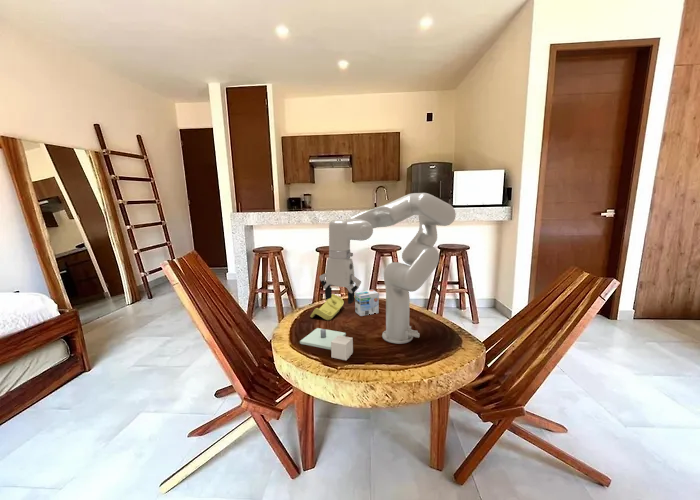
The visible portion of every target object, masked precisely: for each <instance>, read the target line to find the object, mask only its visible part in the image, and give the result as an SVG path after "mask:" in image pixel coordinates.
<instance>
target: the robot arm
mask: <svg viewBox="0 0 700 500" xmlns="http://www.w3.org/2000/svg"><path fill="white" fill-rule="evenodd" d="M413 216H418V223H419V224H418V225H419V228H418V231H417V232H416V235H414V237H413V238H412V239H411V241H410V242H409V243H408V244H407V245H406V247H405V248H404V249H403V251H402V252H401V259H402V262H398V261H397V262H396V261H393V262H391V263H388V264H387V265H386V267H385V268H384V271H383V280H384V281H383V282H384V285H385V286H384V287H385V330H384V331H382V335H381V337H382V339H383V340H384V341H385V342H387V343H391V344H398V345H402V344H407V343H410V342H411V341H412V340H413V339H414V338H418V339H419V338H420V332H419V331H418V330H414V329H412V325H410V297H411V296H410V292H411V293H412V292H416V291H418V290H419V289H421V288H422V287H423V285H424V284H425V282H426V281H427V280H428V278H429V277H430V276H431V275H432V273H433V272H434V271H435V270H436V269H437V266H438V265H439V261H440V253H439V251H438V249H437V247H435V244H436V243H437V241H438V230H437V226H441V227H446V226H447V227H448V226H450V225H451V224H453V223H454V221H455V220H456V217H457V213H456V210H455V208H454V207H453V206H452V205H451V204H450V203H448V202H446V201H444V200H443V199H440V198H439V197H438V196H437V197H436V196H434V195H433V194H430V193H427V192H413V193H408V194H406V195H405V194H404V195H403V196H402V197H401V196H400V197H399V198H397V199H395V200H392V201H390V202H388V203H386V204H383V205H380V206H377V207H374V208H372V209H369V210H366V211H362V212H361V213H360V212H359V213H358V214H355V215H352V217H349V218H348V219H346V220H344V219H343V220H341V219H339V220H338V219H336V220H332V221H330V222H329V224H328V257H327V260H326V266H325V273H323V274H321V275H319V280H320V283H321V285H322V286H323V289H324V297H325V298H324V299H325V300H328V299H329V298H331V297H332V294H333V293H332V292H333V291H332V289H333V288H332V287H331V286H335V287H341V288H346V289H347V290H348V293H347V304H348V305H351V304H353V303H355V292H357V290H358V289H360V286H361V284H362V280H360V279H359V278H357V277H356V276H355V267H354V262H353V258H351V257H353V256H354V254H353V252H351V241H360V242H361V241H367V240H369V239H370V238H371V237H372V235H373V233H374V229H376V228H377V229H378V228H387V227H391V226H395V225H396V224H398V223H400V222H402V221H405V220H406V219H409V218H410V217H413ZM403 262H404V263H403ZM354 284H355V285H354Z"/></svg>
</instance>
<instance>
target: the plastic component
mask: <svg viewBox="0 0 700 500" xmlns="http://www.w3.org/2000/svg"><path fill="white" fill-rule="evenodd" d="M343 306H344V300H343V298H342V297H340V296H338V295H337V294H334V293H332V297H331V298H329V299H326V301H325V302H324V303H323V304H322V305H321V306H320V307H319V308H318V307H315V308H314V309H313V311H312V312H311V314H310V318H314V317H315V316H316V315H317V316H319V317H321V318H322V319H324V320H325V321H331V320H332V319H333V318H334V317H335V316H336V315H337V314H338V313H339V312H340V309H342V307H343Z"/></svg>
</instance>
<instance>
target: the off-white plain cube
mask: <svg viewBox="0 0 700 500" xmlns="http://www.w3.org/2000/svg"><path fill="white" fill-rule="evenodd" d="M353 340H354V338H353V337H349V336H346V335H345V336H339V335H338V336H337V337H336V338H335V339H334V340H333V341H332V342H331V350H330V353H331V358H332V359H333V358H334V359H338V360H342V361H347V360H348V359H350V357H351V355H353V353H354V341H353Z"/></svg>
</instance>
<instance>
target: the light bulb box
mask: <svg viewBox="0 0 700 500" xmlns="http://www.w3.org/2000/svg"><path fill="white" fill-rule="evenodd" d="M379 294H380V293H379V292H377V291H376V290H375V289H367V290H361V291H355V295H354V303H355V304H354V307H355V309H354V310H355V313H356V314H357V315H359V316H360V317H363V316H370V315H375V314H374V313H376V314H379V313H380V312H379V308H380V307H379V297H380V296H379ZM369 314H370V315H369Z"/></svg>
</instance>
